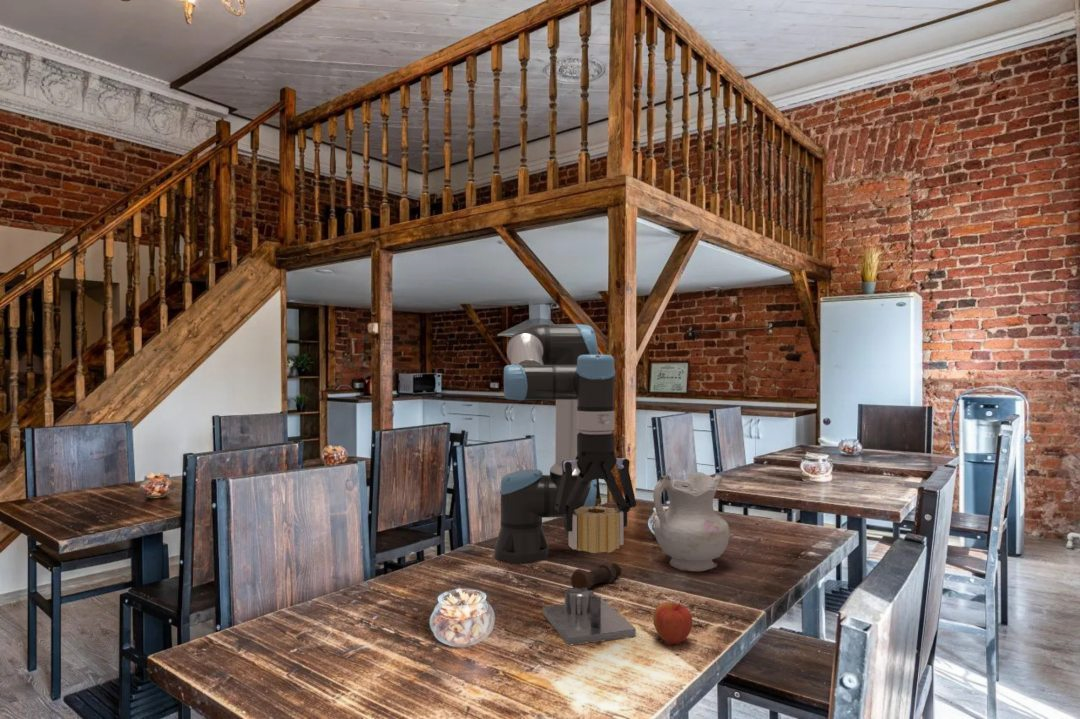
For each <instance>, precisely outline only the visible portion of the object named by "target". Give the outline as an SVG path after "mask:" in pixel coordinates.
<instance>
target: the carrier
mask: <svg viewBox="0 0 1080 719" xmlns="http://www.w3.org/2000/svg"><path fill="white" fill-rule="evenodd" d="M542 615H543V616H544V618H545V619H546V618H547V619H546V620H547V621H548V623H549V624H550V623H551V624H552V625H551V626H552V627H553V626H554V627H553V628H555V629H556V630H557V631H556V630H555V629H554V630H555V631H556V632H557V633H558V635H559V634H560V635H561V636H560V635H559V636H560V637H561V639H562V640H563V639H564V640H565V641H566V642H567V643H566V642H565V641H564V640H563V641H564V642H565V643H566V645H567V644H568V645H571V644H579V643H585V642H593V643H597V642H596V641H600V642H603V641H602V640H607V641H611V640H610V639H614V640H620V639H619V638H621V639H626V637H628V638H633V637H632V636H635V637H637V635H636V633H637V630H636V628H635V626H633V625H632V624H631V623H630V622H629V621H628V620H626V619H625V618H624V617H623V616H622V615H621V614H620V613H619V612H618V611H617V610H616V609H614V607H612V606H611V605H610V604H609V603H607V602H606V601H605V599H601V597H600V596H598V595H597V596H595V591H594V590H591V589H590V590H587V588H582V589H577V588H573V587H572V588H571V589H566V590H565V591H564V604H558V605H549V606H542ZM594 641H595V642H594ZM568 645H567V646H568ZM579 645H580V644H579Z"/></svg>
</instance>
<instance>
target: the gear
mask: <svg viewBox="0 0 1080 719" xmlns="http://www.w3.org/2000/svg"><path fill="white" fill-rule="evenodd" d="M616 509H617V508H614V507H607V506H599V505H598V506H596V507H595V506H594V507H593V506H592V507H585V506H584V507H580V508H578V509H575V510H574V514H575V515H577V549H575V550H576V551H579V552H580V551H583V552H589V553H590V554H597V553H614V550H616V549H620V546H621V545H620V511H616Z"/></svg>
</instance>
